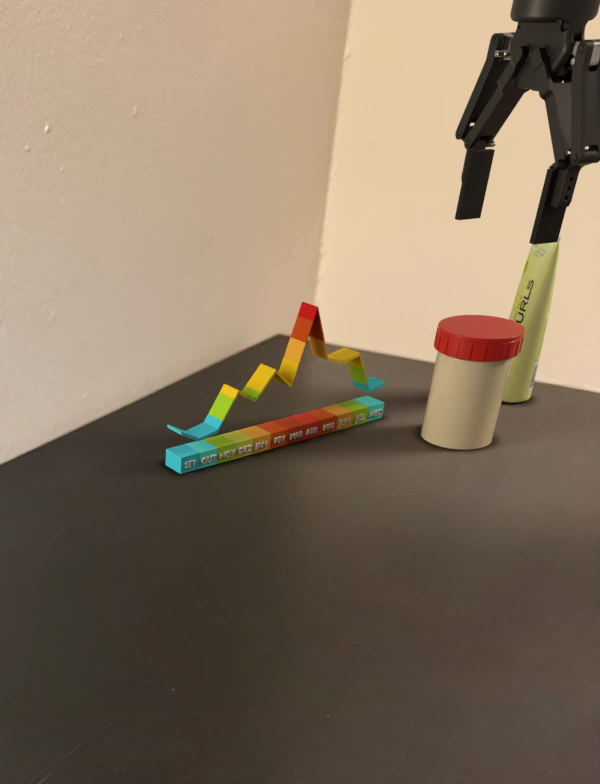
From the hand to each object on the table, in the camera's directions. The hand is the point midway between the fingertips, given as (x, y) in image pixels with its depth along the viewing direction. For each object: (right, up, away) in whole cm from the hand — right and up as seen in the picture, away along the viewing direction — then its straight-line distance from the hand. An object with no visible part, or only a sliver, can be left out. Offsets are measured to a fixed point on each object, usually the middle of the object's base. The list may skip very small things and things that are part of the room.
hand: (503, 230), depth 102 cm
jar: (+1, -18, +14) cm, 22 cm away
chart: (-20, -18, +14) cm, 31 cm away
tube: (+11, -10, +24) cm, 28 cm away
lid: (0, -8, +6) cm, 10 cm away
